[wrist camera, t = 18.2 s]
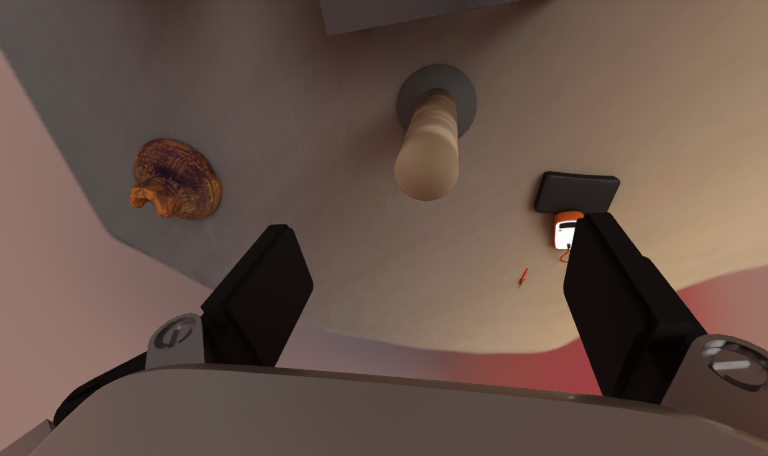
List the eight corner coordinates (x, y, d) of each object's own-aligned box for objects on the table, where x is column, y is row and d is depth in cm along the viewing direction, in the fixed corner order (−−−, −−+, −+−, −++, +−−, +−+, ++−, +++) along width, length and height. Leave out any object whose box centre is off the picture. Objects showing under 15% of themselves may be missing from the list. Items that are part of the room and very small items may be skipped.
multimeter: (584, 297, 44) (594, 316, 41) (497, 281, 45) (500, 299, 42) (660, 181, 34) (679, 196, 31) (545, 164, 35) (554, 176, 32)
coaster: (476, 58, 30) (476, 59, 30) (476, 141, 34) (476, 142, 34) (393, 71, 32) (392, 71, 32) (403, 147, 36) (402, 149, 36)
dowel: (455, 85, 31) (457, 138, 18) (457, 125, 33) (459, 199, 20) (415, 90, 32) (389, 144, 19) (419, 129, 34) (398, 202, 21)
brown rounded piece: (235, 174, 43) (200, 200, 37) (208, 227, 49) (175, 257, 43) (153, 117, 40) (101, 135, 34) (136, 181, 46) (90, 206, 40)
